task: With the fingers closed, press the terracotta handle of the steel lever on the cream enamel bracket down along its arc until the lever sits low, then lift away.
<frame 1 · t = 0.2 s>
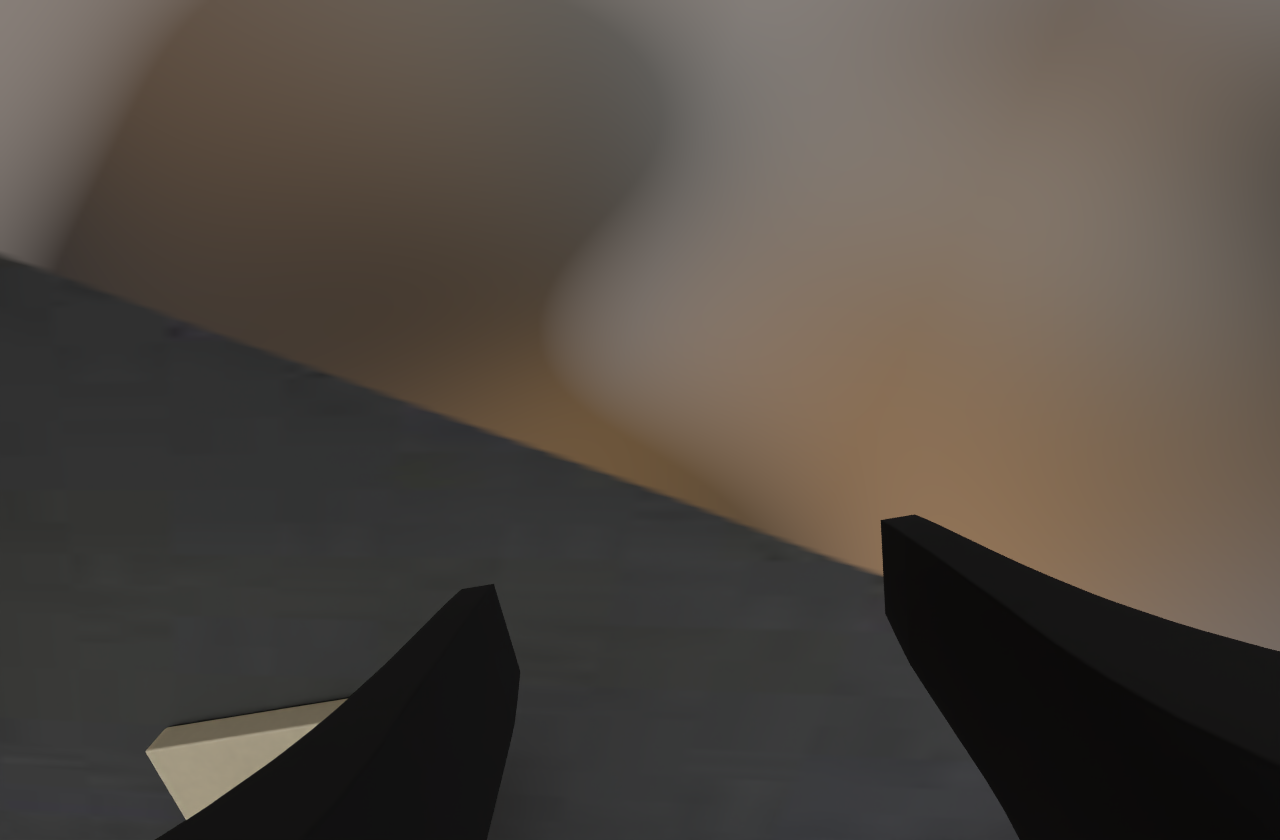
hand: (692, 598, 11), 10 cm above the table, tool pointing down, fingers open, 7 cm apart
toaster bracket: (323, 815, 26), on the table
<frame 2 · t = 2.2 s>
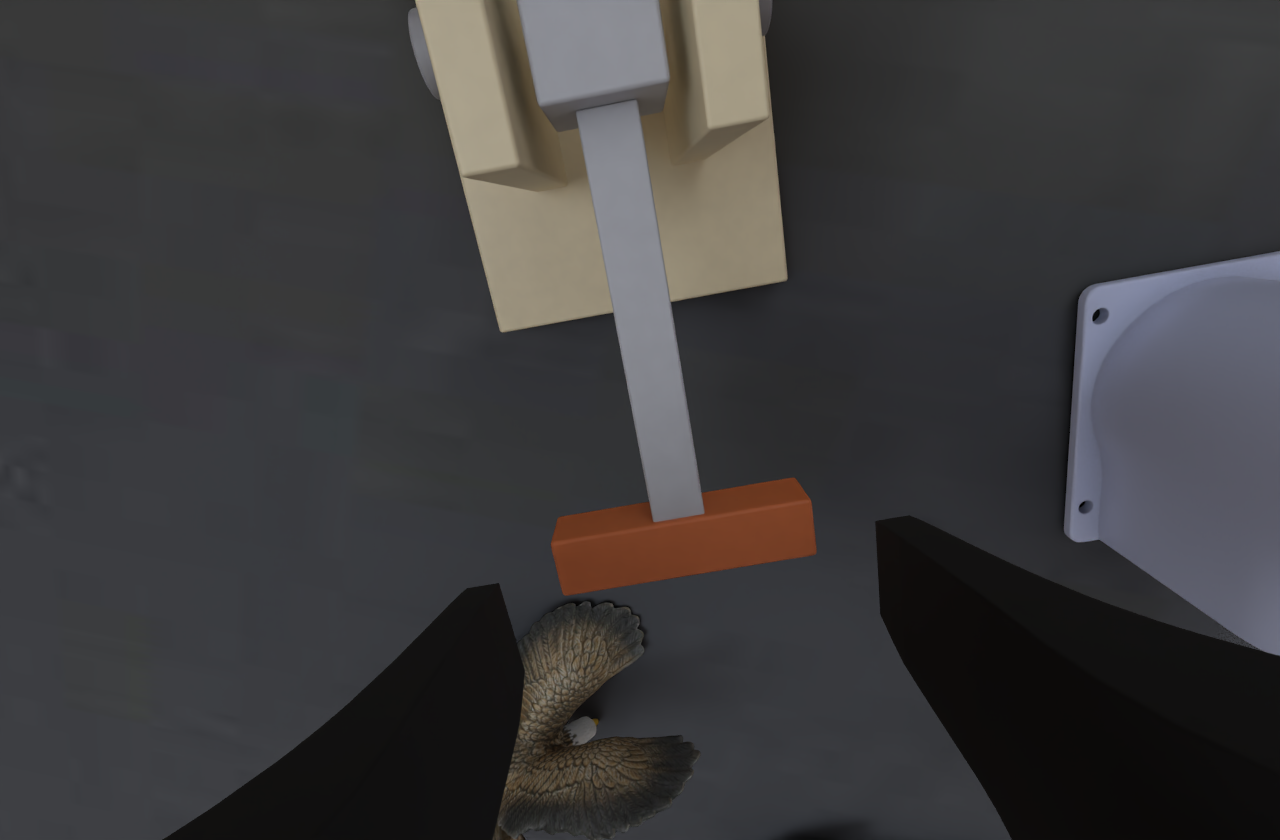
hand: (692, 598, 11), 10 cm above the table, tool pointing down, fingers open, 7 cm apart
toaster bracket: (606, 98, 18), on the table
eagle figurine: (562, 686, 25), on the table
lever: (639, 290, 12), point 8 cm above the table, hinge at 3.0°
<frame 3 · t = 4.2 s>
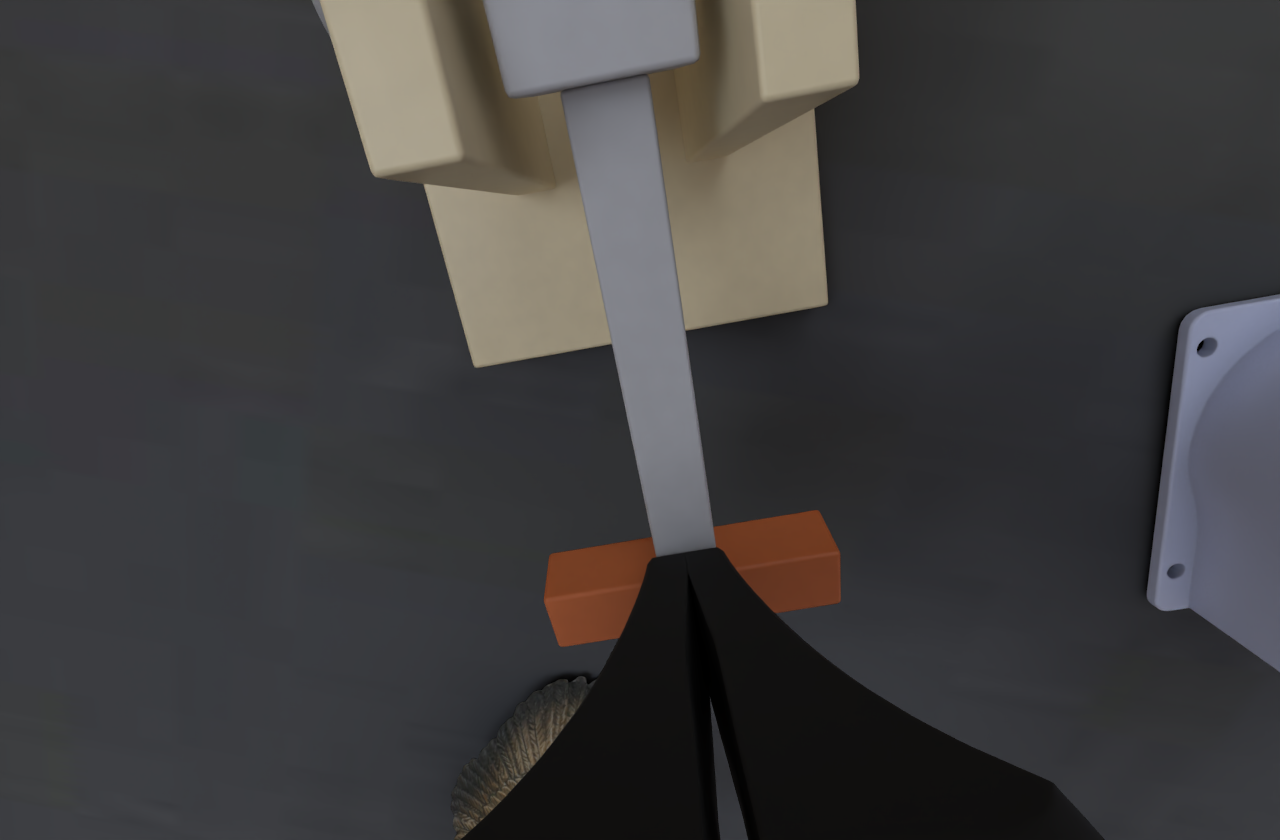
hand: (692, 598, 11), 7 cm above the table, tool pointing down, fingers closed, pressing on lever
toaster bracket: (604, 79, 14), on the table
eagle figurine: (553, 769, 21), on the table
lever: (645, 320, 9), point 7 cm above the table, hinge at -9.8°, touching gripper
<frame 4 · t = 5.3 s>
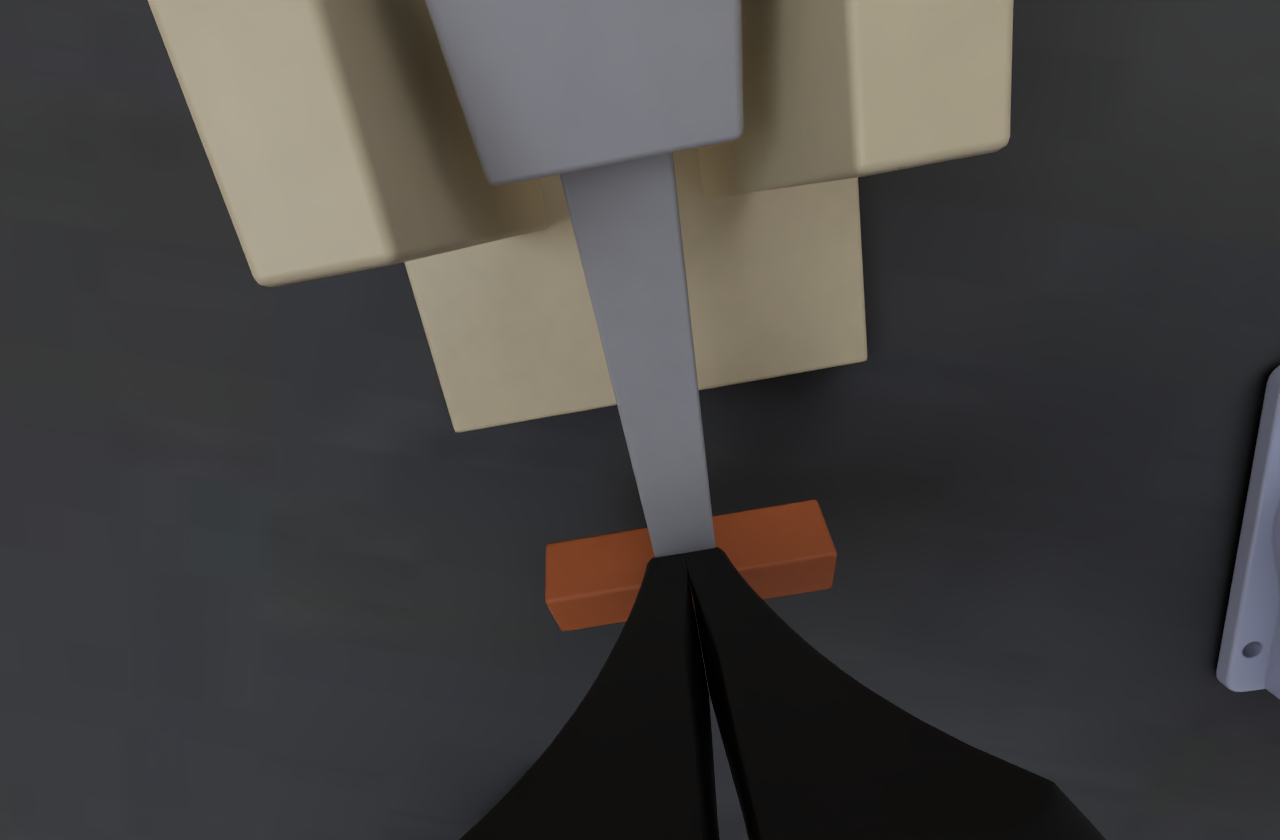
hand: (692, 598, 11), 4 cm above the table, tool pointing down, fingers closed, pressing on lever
toaster bracket: (606, 98, 12), on the table
lever: (651, 364, 8), point 6 cm above the table, hinge at -26.6°, touching gripper
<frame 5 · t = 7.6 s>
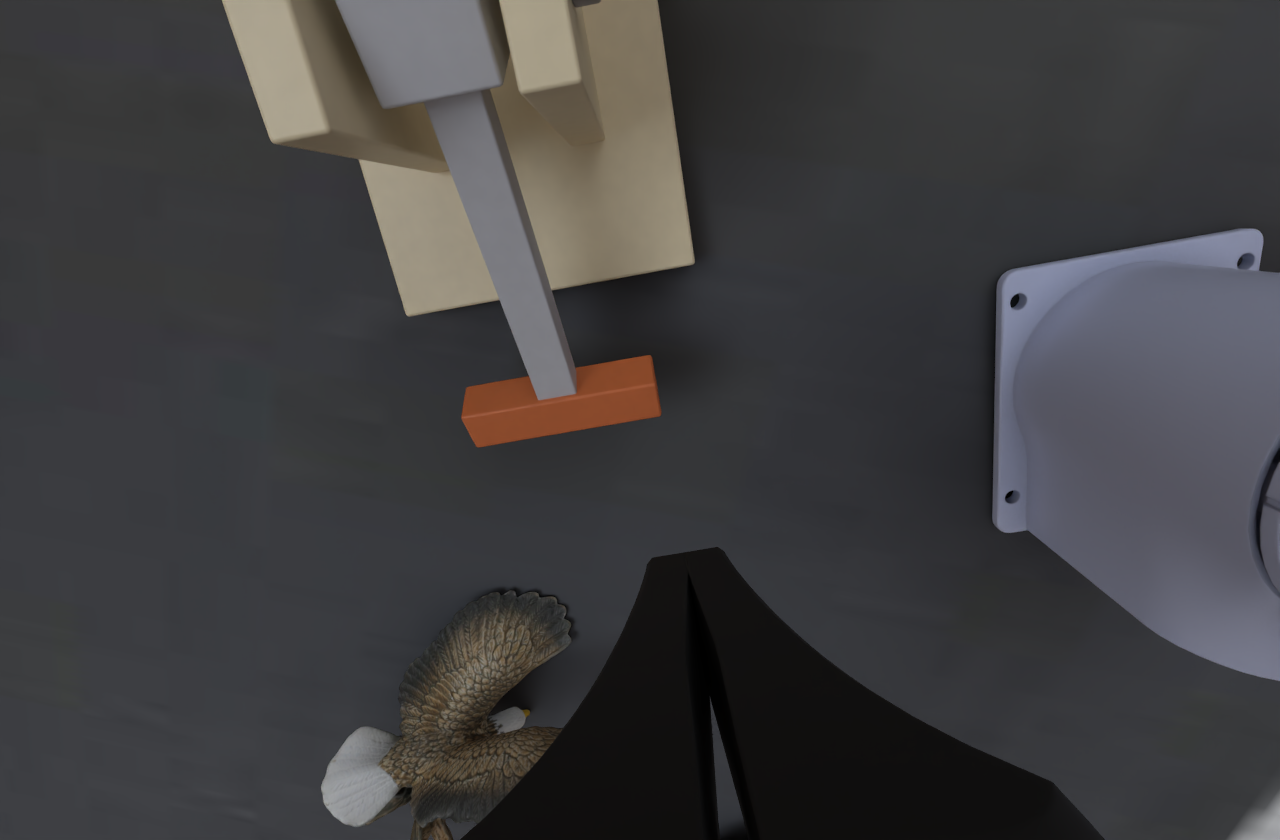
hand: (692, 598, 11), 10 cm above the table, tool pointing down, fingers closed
toaster bracket: (508, 79, 17), on the table
eagle figurine: (492, 677, 25), on the table
lever: (505, 233, 14), point 6 cm above the table, hinge at -26.6°
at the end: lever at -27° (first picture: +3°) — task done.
